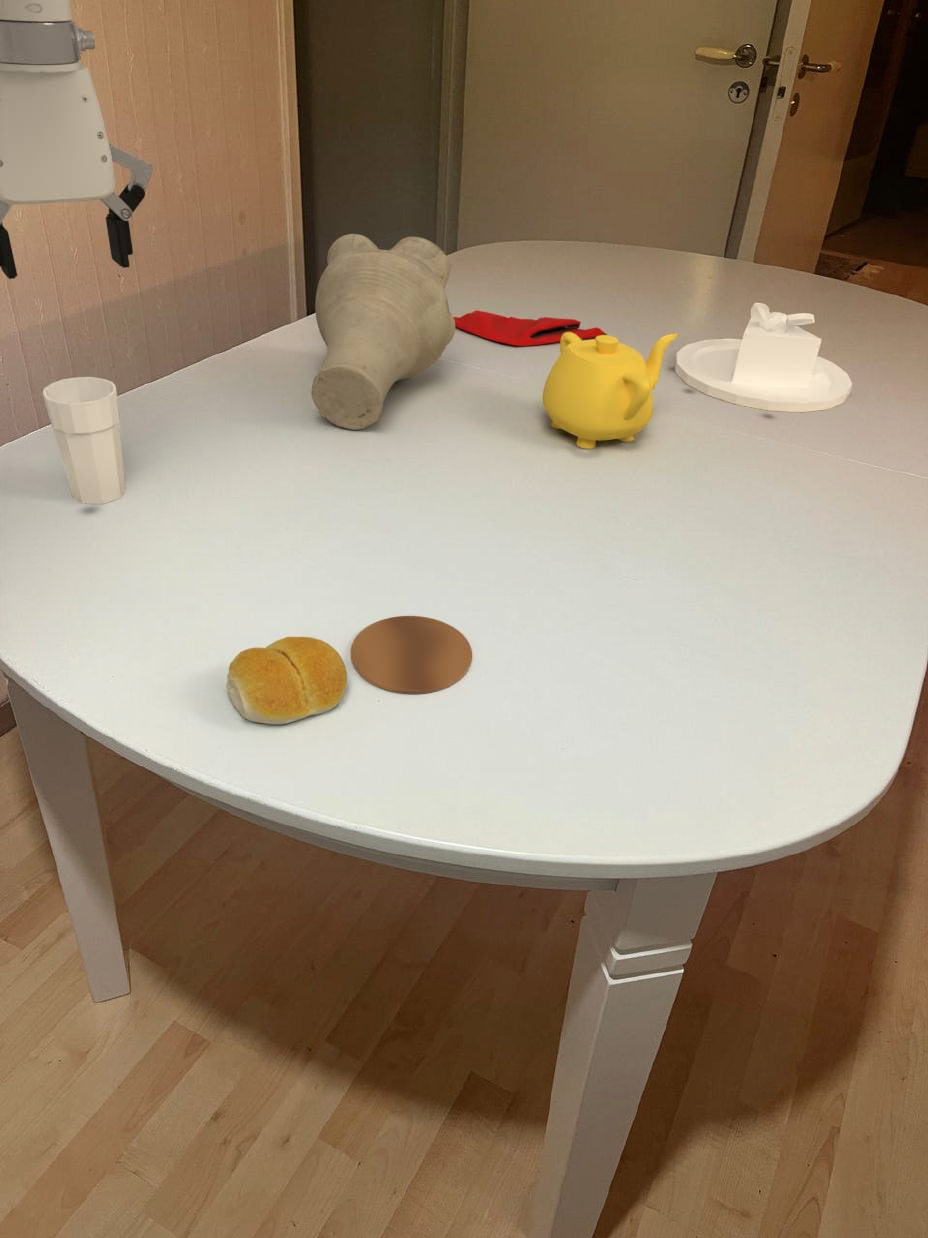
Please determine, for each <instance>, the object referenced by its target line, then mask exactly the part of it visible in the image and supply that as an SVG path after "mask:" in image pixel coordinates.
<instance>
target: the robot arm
mask: <svg viewBox="0 0 928 1238" xmlns="http://www.w3.org/2000/svg"><path fill="white" fill-rule="evenodd" d="M94 36H95V35H94V33H93V32H92V30H83V28H81V27H80V28H79V27H78V25H77V24H76V22H75V21H73V13H72V7H71V1H70V0H0V269H1V271H2V273H3V274H4V275H5V276H6V277H7V279H8V280H11V279H12V280H14V279H16V277H18V272H17V267H16V262H15V257H14V253H13V248H12V244H11V239H10V234H9V231H8V230H7V228H5V226H4V224H3V221H4V219H5V218H6V217H7V215H8V213H9V212H10V209H12V206H13V205H17V206H18V205H40V204H41V205H42V204H58V203H75V202H86V201H88V202H89V201H97V200H99V201H101V202H102V203H103V204H104V206H105V207H107V208H108V213H106V216H105V223H106V229H107V237H108V242H109V249H110V256H111V259H112V260H113V262H115V263H116V264H117V265H118V266H120V267H121V268H123V269H126V268H130V259H129V258H130V257H129V256H132V255H133V254H134V249H133V241H132V235H131V227H130V222H129V221H130V220H132V219H133V217H134V212H135V211H136V210H137V208H138V207H139V205H140V204H141V203H142V201H143V200H144V199H145V197H146V190H147V188H148V186H149V183H150V180H151V177H152V174H153V165H152V164H151V163H150V162H149V161H146V159H143V158H141V157H138V156H137V155H134V154H133V153H130V152H129V151H126V150H124V149H122V148H120V147H118V146H116V145H114V144H112V143H110V142H109V138H108V134H107V128H106V124H105V120H104V117H103V112H102V108H101V105H100V102H99V98H98V95H97V94H98V93H97V91H96V88H95V85H94V82H93V78H92V76H91V73H90V70H89V68H88V66H86V65H83V64H80V61H81V60H82V56H81V55H82V54H83V52H86V50H95V47H96V41H95V37H94ZM114 163H116V164H117V165H118V166H121V167H123V168H126V169H128V170H129V171H130V177H129V181H128V183H127V184H126V186H125V187H124V188H123V190H122V191H121V192H120V193H119V195H118V194H117V193H115V190H116V175H115V167H114Z"/></svg>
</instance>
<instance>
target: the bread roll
mask: <svg viewBox="0 0 928 1238" xmlns="http://www.w3.org/2000/svg"><path fill="white" fill-rule="evenodd" d="M347 684H348V673H347V668H346V664H345V662H344V660H343V657H342V656H341V655H340V654H339V652H338V651H337V649H336V648H334V647H333V646H332V645H331V644H329V643H328V642H326V641H324V640H322V639H319V638H316V637H311V636H285V637H283V638H280V639H277V640H275V641H274V642H272V643H270V644H269V645H267V646H265V647H250V648H246V649H244V650H242V651H240V652H239V653H238V654H237V655H236V656H235V658H234V659H232V661H231V662H230V663H229V667H228V672H227V677H226V685H225V690H226V692H227V694H228V696H229V699H230V701H231V703H232V705H233V707H234V708H235V709H236V711H237V712H238V713H239V714H240V716H242V718H244V719H246V720H247V721H251V722H254V723H259V724H260V723H261V724H268V725H285V724H290V723H292V722H297V721H299V720H302V719H306V718H307V717H309V716H314V715H320V714H322V713H326V712H327V711H330V710H331V709H333V708H334V707H336V706H337V705H338V704H339V703H340V702H341V700H342V698H343V696H344V694H345V691H346V687H347Z"/></svg>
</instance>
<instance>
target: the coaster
mask: <svg viewBox="0 0 928 1238" xmlns="http://www.w3.org/2000/svg"><path fill="white" fill-rule="evenodd" d="M350 660H351V664H352V667H353V668H354V670H355V671H356V673H357V674H358V675H359V676H360V677H361V678H362V679H363V680H365V681H366V682H368V683H369V684H371V685H373V686H374V687H377V688H379V689H382V690H384V691H388V692H392V693H397V694H403V695H404V694H405V695H422V694H423V695H425V694H430V693H435V692H438V691H442V690H444V689H447V688H450V687H451V686H453V685H455V684H457V683H458V682H459V681H460V680H462V679H463V678H464V677H465V676H466V675H467V673H468V672H469V670H470V667H471V665H472V661H473V651H472V647H471V644H470V642H469V640H468V639H467V637H466V636H465V635H464V633H462V632H461V631H460V630H458V629H457V628H456V627H454V626H452V625H450V624H448V623H446V622H444V621H441V620H439V619H435V618H431V617H427V616H421V615H399V616H392V617H388V618H383V619H380V620H378V621H376V622H373V623H371V624H369V625H368V626H365V627H364V628H363V629H362V630H361V631H359V633H357V635H356V636H355V638H354V639H353V641H352V643H351V647H350Z"/></svg>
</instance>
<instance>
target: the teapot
mask: <svg viewBox="0 0 928 1238" xmlns="http://www.w3.org/2000/svg"><path fill="white" fill-rule="evenodd" d="M678 335H679V334H678V333H670V334H666V335H664V336H661V337H660V338H659V339H658V340H657V341H656V342H655V343H654V344H653V346H652V348H651V350H650V352H649V354H648V357H647V359H646V361H645V359H644V357H643V356H642V354H641V353H640V352H639V351H637V350H636V349H634V348H633V347H631V346H629V345H627V344H624V343H622V342H619V341H620V340H619V339H618V338H617V337H615V336H613V335H610V334H607V335H600V336H597V337H595V339H594V338H591V339H580V338H579V337H578V336H577V335H576V334H574V333H572V332H566V333H564V334H563V335H562V336H561V341H560V342H559V344H560V345H559V347H560V348H559V349H560V350H559V351H560V354H559V356H558V357H557V359H556V360H555V362H554V363H553V365H552V367H551V369H550V370H549V373H548V375H547V378H546V381H545V384H544V387H543V393H542V397H541V398H542V399H541V400H542V404H543V406H544V409H545V411H546V413H547V415H548V416H549V418H550V419H551V421H552V422H551V423H550V425H551V427H552V428H553V429H557V430H563V431H565V432H567V433H569V434H571V435H573V436H575V437H577V440H576V442H575V443H576V446H578V447H579V448H581V449H585V450H586V449H587V450H588V449H589V450H590V449H594V448H595V447H597V441H609V440H618V441H620V442H624V443H628V442H633V441H635V437H634V435H637V434H639V433H640V432H641V431H642V430H643V429H644V428H645V427H646V426H647V425H648V424H649V423H650V422H651V419H652V416H653V411H654V393H653V391H654V390H655V388H656V386H657V384H658V382H659V379H660V375H661V370H662V364H663V359H664V355H665V352H666V351H667V348H668V347H669V345H670V344H672V342H674V340H675V339H676V338H677V337H678Z"/></svg>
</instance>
